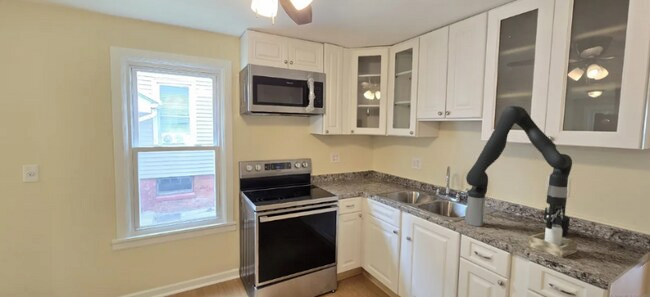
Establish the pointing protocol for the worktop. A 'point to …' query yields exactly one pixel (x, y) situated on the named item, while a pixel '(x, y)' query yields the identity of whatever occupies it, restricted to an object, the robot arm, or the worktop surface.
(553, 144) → the robot arm
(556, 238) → the can
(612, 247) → the worktop surface
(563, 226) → the pen holder
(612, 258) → the worktop surface
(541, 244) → the bore box
